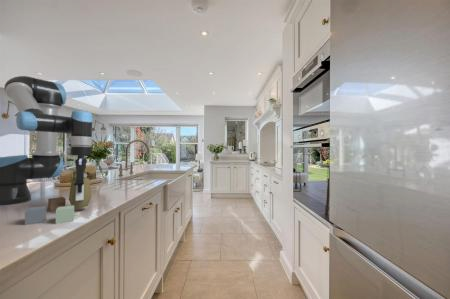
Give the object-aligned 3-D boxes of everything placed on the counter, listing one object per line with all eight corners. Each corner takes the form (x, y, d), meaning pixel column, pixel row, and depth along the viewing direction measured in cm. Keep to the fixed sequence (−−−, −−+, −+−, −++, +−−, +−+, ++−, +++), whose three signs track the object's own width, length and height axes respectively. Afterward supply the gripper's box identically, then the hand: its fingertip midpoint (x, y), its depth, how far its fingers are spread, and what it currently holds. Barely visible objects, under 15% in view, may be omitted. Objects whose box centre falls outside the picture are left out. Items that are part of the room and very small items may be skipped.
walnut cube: (48, 210, 92) (48, 198, 92) (62, 207, 96) (62, 196, 96) (51, 212, 89) (51, 200, 89) (65, 209, 92) (65, 198, 93)
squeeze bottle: (68, 210, 85) (69, 166, 85) (68, 205, 92) (69, 165, 92) (91, 207, 90) (92, 166, 90) (90, 203, 97) (91, 164, 97)
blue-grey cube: (28, 221, 77) (28, 207, 77) (46, 218, 80) (46, 205, 80) (24, 225, 73) (25, 211, 73) (43, 222, 76) (43, 209, 76)
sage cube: (57, 220, 79) (58, 207, 79) (74, 218, 81) (74, 205, 81) (55, 224, 74) (55, 210, 74) (72, 221, 77) (73, 208, 77)
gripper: (73, 146, 98) (72, 194, 98) (68, 145, 80) (66, 204, 80) (91, 146, 102) (90, 192, 102) (91, 146, 84) (89, 202, 84)
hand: (80, 197), depth 91 cm, fingers closed on squeeze bottle, 8 cm apart
